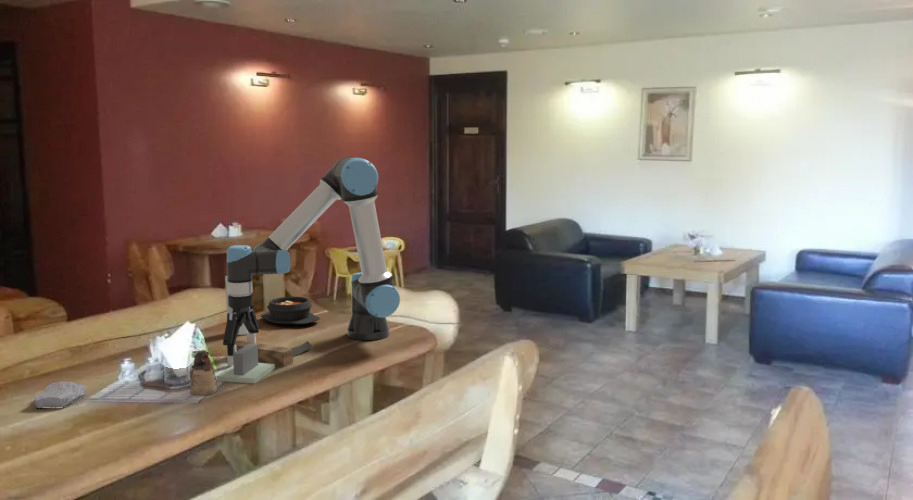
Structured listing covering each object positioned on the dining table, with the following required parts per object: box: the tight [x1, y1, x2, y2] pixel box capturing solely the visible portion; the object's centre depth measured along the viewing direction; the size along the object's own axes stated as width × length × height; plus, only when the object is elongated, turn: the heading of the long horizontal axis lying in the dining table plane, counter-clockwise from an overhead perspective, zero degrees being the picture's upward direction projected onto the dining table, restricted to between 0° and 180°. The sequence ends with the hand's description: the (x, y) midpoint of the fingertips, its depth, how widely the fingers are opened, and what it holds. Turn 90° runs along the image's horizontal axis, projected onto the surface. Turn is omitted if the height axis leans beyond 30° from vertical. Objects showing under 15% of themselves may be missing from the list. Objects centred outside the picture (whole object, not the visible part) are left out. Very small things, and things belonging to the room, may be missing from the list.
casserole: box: [260, 296, 321, 326], centre depth 285 cm, size 25×19×8 cm
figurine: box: [189, 349, 218, 396], centre depth 208 cm, size 7×7×12 cm
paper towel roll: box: [224, 275, 250, 336], centre depth 267 cm, size 7×6×21 cm
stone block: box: [34, 381, 87, 409], centre depth 200 cm, size 12×5×10 cm
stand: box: [215, 344, 276, 384], centre depth 223 cm, size 12×14×8 cm
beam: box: [235, 339, 294, 368], centre depth 237 cm, size 22×4×5 cm, turn 66°
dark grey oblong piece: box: [290, 340, 312, 358], centre depth 244 cm, size 13×5×4 cm, turn 134°
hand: (242, 358), depth 238 cm, fingers open, 13 cm apart
